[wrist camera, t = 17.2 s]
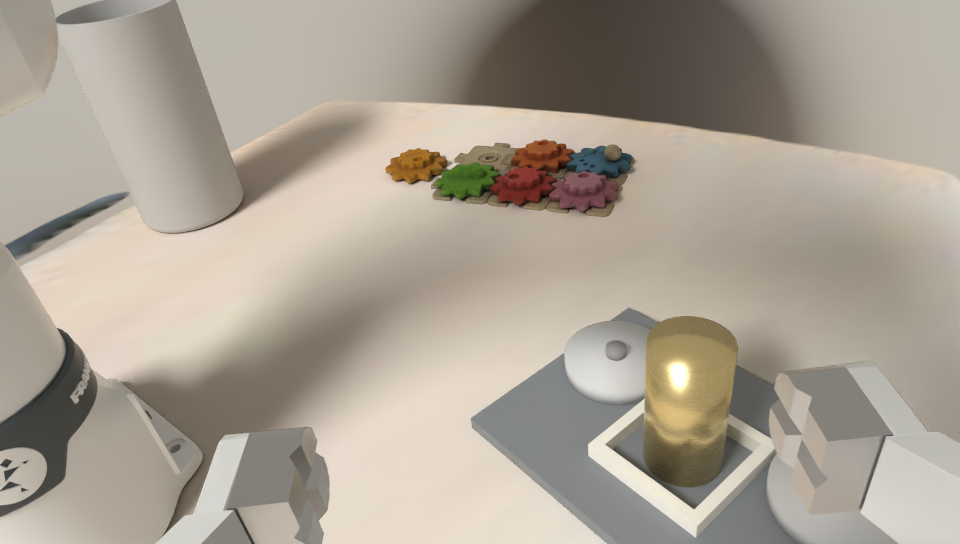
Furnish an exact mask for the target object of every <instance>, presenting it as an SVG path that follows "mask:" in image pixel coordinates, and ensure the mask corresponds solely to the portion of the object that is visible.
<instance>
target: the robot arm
mask: <svg viewBox="0 0 960 544" xmlns="http://www.w3.org/2000/svg"><path fill="white" fill-rule="evenodd" d="M57 53H58V30H57V24H56V17H55V14H54V10H53V7H52V3H51V1H50V0H0V117H1V116H3V115H4V114H7V113H9V112H11V111H12V110H14V109H16V108H18V107H20V106H22V105H24V104H26V103H28V102H30V101H32V100H34V99H36V98H38V97H39V96H41V95H43V94H44V93H45V91H46V89H47V87H48V85H49V83H50V81H51V78H52V75H53V73H54V69H55V65H56V60H57ZM774 389H775V391H776V393H777V395H778V397H779V399H778V400H777V401H776V402H775V403H774V404H773V405H772V406H771V408H770V415H769V427H770V435H771V439H772V442H773V445H774V448H775V450H776V452H777V454H778V456H779V458H780V460H781V461H782V462H784V463H785V464H787V465H788V466H790V467H791V468H793V469H794V473H793V477H792V484H793V486H794V488H795V489H796V491H797V493H798V495H799V497H800V499H801V501H802V503H803V505H804V507H805V509H806V511H807V513H808V514H809V515H814V514H826V513H838V512H851V511H861V514H862V515H863V516H865V517H866V518H867V519H868V520H870V521H871V522H872V523H873V524H875V525H876V526H877V527H878V528H880V529H881V530H882V531H884V532H885V533H886V534H887V535H889V536H890V537H891V538H892V539H894V540H895V541H896V542H897V543H899V544H960V443H959V442H958V441H956V440H954V439H952V438H950V437H948V436H946V435H944V434H942V433H941V432H939V431H934V432H928V430H927V429H926V428H925V426H924V425H923V424H922V423H921V421H920V420H919V419H918V418H917V416H916V415H915V414H914V412H913V411H912V410H911V409H910V407H909V406H908V405H907V403H906V402H905V401H904V400H903V398H902V397H901V396H900V394H899V393H898V392H897V391H896V389H895V388H894V387H893V386H892V384H891V383H890V382H889V380H888V379H887V378H886V377H885V375H884V374H883V373H882V371H881V370H880V369H879V368H878V366H877V365H876V364H874V363H872V362H871V361H865V362H857V363H849V364H841V365H838V366H837V365H832V366H824V367H816V368H808V369H800V370H792V371H784V372H780V373H779V374H778V376H777V377H776V381H775V386H774ZM316 445H317V439H316V437H315V434H314V432H313V430H312V428H310V427H302V428H290V429H279V430H268V431H257V432H251V433H240V434H229V435H225V436H224V437H223V438H222V439H221V440H220V441H219V443H218V446H217V448H216V451H215V454H214V457H213V460H212V463H211V465H210V468H209V471H208V474H207V477H206V479H205V482H204V485H203V488H202V491H201V494H200V496H199V499H198V502H197V505H196V508H195V510H194V513H193V514H190V515H185V516H183V517H182V518H181V519H180V520H179V521H178V522H177V523H176V524H175V525H174V526H173V527H172V528H171V529H170V530H169V531H168V532H167V533H166V534H165V535H164V536H163V534H164V532H165V531H166V529H167V527H168V525H169V523H170V521H171V519H172V516H173V514H174V511H175V508H176V505H177V501H178V498H179V495H180V493H181V491H182V489H183V487H184V486H185V484H186V483H187V482H188V481H189V479H190V478H191V477H192V475H193V474H194V473H195V471H196V470H197V468H198V467H199V465H200V464H201V462H202V459H203V454H202V452H201V450H200V449H199V448H198V446H197V445H196V444H195V443H194V442H193V441H191V440H190V439H189V438H188V437H186V436H185V435H184V434H183V433H182V432H180V431H179V430H178V429H177V428H175V427H174V426H173V425H172V424H170V423H169V422H168V421H167V420H166V419H164V418H163V417H162V416H161V415H159V414H158V413H157V412H156V411H155V410H153V409H152V408H151V407H150V406H148V405H147V404H146V403H145V402H144V401H142V400H141V399H140V398H139V397H137V396H136V395H135V394H134V393H133V392H131V391H130V390H129V389H128V388H126V387H125V386H124V385H123V384H121V383H120V382H119V381H117V380H116V379H105V378H104V377H102V376H101V375H100V374H98V373H97V372H95V371H94V370H92V369H91V368H90V365H89V362H88V359H87V358H86V356H85V354H84V353H83V351H82V350H81V349H80V347H79V346H78V345H77V344H76V343H75V342H74V341H73V340H72V339H71V337H70V336H69V335H68V334H67V333H66V332H64V331H63V330H61V329H59V328H56V326H55V324H54V323H53V321H52V319H51V318H50V316H49V315H48V313H47V311H46V310H45V308H44V306H43V305H42V303H41V302H40V300H39V298H38V297H37V295H36V293H35V292H34V290H33V288H32V287H31V285H30V284H29V282H28V280H27V279H26V277H25V275H24V274H23V272H22V271H21V269H20V267H19V266H18V264H17V262H16V261H15V259H14V257H13V256H12V254H11V253H10V251H9V250H8V249H7V248H6V247H5V246H4V245H3V244H2V243H1V242H0V544H322V540H323V534H324V533H323V531H322V528H321V526H320V523H319V520H320V518H321V517H322V516H323V515H324V514H325V513H326V512H327V509H328V502H329V475H328V470H327V466H326V463H325V460H324V458H323V457H322V456H320V455H319V454H317V453H316V452H315V450H316ZM162 536H163V537H162ZM161 537H162V538H161Z"/></svg>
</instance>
